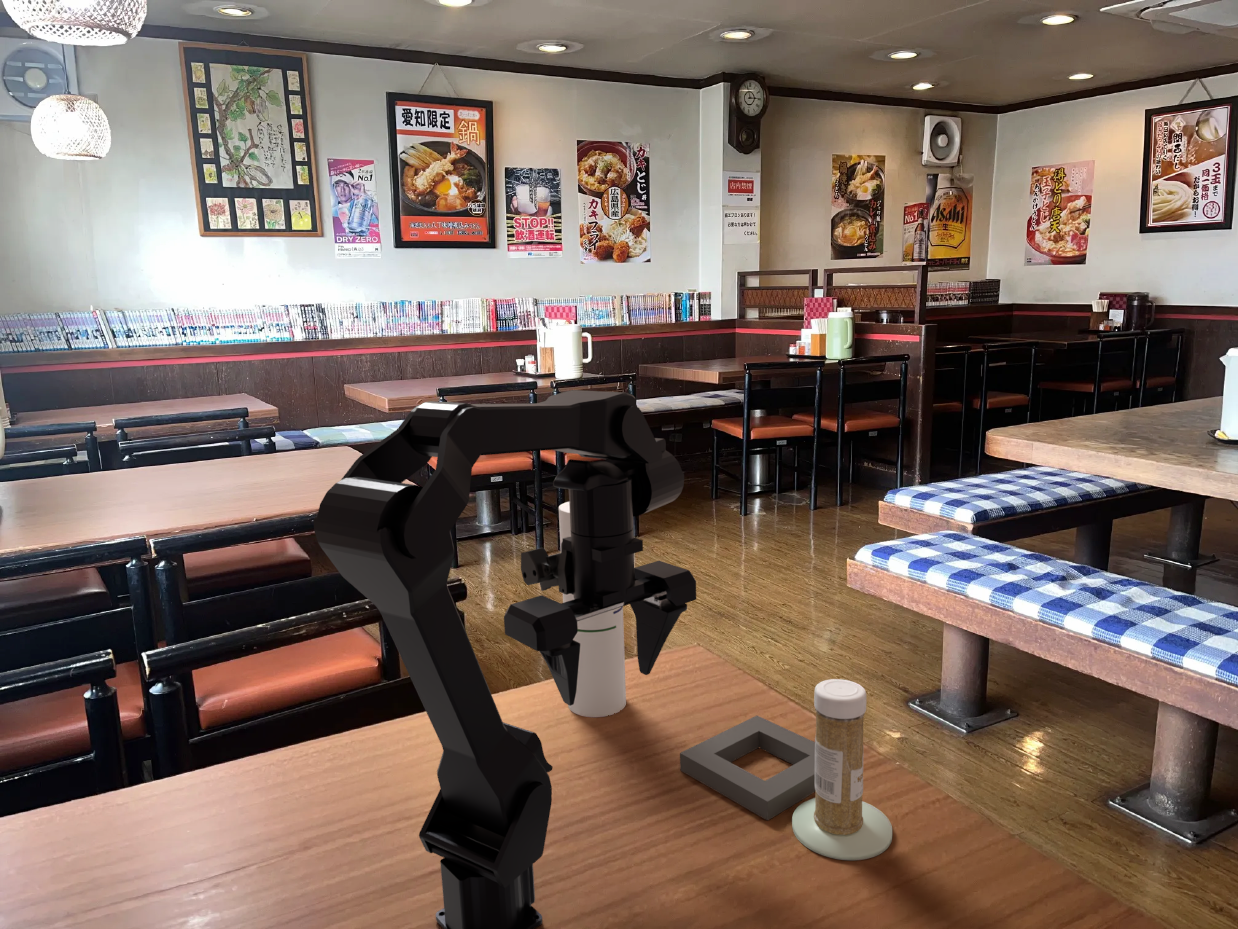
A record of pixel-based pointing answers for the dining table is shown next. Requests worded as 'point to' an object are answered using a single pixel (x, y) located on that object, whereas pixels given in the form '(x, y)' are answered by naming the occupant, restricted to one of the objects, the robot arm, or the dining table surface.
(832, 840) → the coaster
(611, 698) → the cylindrical container
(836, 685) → the sprinkles bottle
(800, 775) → the holder
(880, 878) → the dining table surface
